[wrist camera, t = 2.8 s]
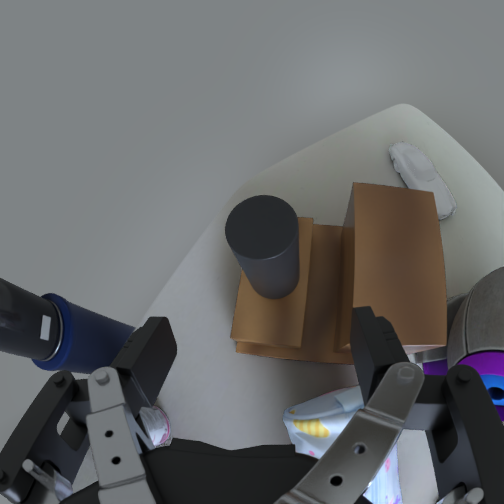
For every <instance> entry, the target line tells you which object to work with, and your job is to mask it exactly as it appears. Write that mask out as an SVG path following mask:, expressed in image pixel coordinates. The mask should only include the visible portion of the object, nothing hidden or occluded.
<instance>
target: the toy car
mask: <svg viewBox="0 0 504 504" xmlns="http://www.w3.org/2000/svg"><path fill="white" fill-rule="evenodd" d="M389 153H390V155H391V159H392V161H394V163H393V164H394V168H395V170H396V171H397V172H398V173H400V175H401V177H402V179H403V180H404V182H405V183H406V185H407V186H408V188H409V189H416V190H423V191H429V192H433V193H434V198H435V203H436V208H437V214H438V219H439V220H440V219H444V218H446V217H448V215H450V214H451V215H453V214H454V213H455V212H456V211H455V209H456V208H457V205H456V201H455V199H454V197H453V195H452V193H451V192H450V190H449V188H448V187H447V185H446V184H445V182H444V181H443V179H442V178H441V176H440V175H439V174H438V172H437V171H436V170H435V167H434V165H433V163H432V162H431V160H430V159H429V158H428V157H427V156H426V155H425V154H424V153H423V152H422V151H421V150H420V149H419V148H417V147H416V146H414V145H412V144H409V143H405V142H403V141H402V142H400V143H396V144H395V145H392V143H391V145H390V148H389ZM451 211H453V212H451Z"/></svg>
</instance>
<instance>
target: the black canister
mask: <svg viewBox="0 0 504 504" xmlns="http://www.w3.org/2000/svg"><path fill="white" fill-rule="evenodd" d="M225 235H226V239H227V242H228V244H229V246H230V247H231V249H232V251H233V253H234V255H235V257H236V258H237V260H238V262H239V264H240V266H241V267H242V269H243V271H244V273H245V275H246V276H247V278H248V280H249V282H250V284H251V285H252V287H253V289H254V290H255V291H256V292H257V293H258V294H259V295H261V296H262V297H265V298H268V299H280V298H283V297H285V296H287V295H289V294H290V293H291V292H293V290H294V289H295V288H296V286H297V284H298V282H299V278H300V259H299V224H298V218H297V215H296V213H295V211H294V210H293V208H292V207H291V206H290V205H289V204H288V203H287V202H285V201H284V200H282V199H280V198H277V197H274V196H268V195H260V196H254V197H251V198H248V199H246V200H244V201H242V202H241V203H239V204H238V205H237V206H236V207H235V208H234V209H233V210H232V211H231V213H230V215H229V216H228V219H227V222H226V226H225Z"/></svg>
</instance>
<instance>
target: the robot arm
mask: <svg viewBox="0 0 504 504" xmlns="http://www.w3.org/2000/svg"><path fill="white" fill-rule="evenodd" d="M64 331H65V326H64V318H63V314H62V312H61V310H60V308H59V306H58V305H57V304H56V303H54V302H52V301H50V300H47V299H44V298H42V297H39V296H37V295H35V294H33V293H30V292H28V291H26V290H24V289H22V288H20V287H18V286H16V285H14V284H12V283H10V282H8V281H6V280H4V279H1V278H0V351H2V352H6V353H10V354H14V355H18V356H23V357H27V358H32V359H37V360H39V361H43V362H48V361H51V360H52V359H54V358H55V357H56V356H57V354H58V353H59V351H60V349H61V346H62V343H63V339H64ZM350 348H351V353H352V357H353V361H354V365H355V369H356V373H357V377H358V381H359V385H360V389H361V394H362V398H363V402H364V408H363V409H361V408H360V409H358V410H357V412H356V413H355V414H354V416H353V417H352V418H351V420H350V421H349V422H348V424H347V425H346V427H345V428H344V429H343V431H342V432H341V433H340V434H339V436H338V437H337V438H336V440H335V441H334V442H333V443H332V445H331V446H330V447H329V448H328V450H327V451H326V452H325V453H324V454H323V456H322V457H321V458H320V459H317V458H315V457H313V456H310V455H307V454H303V453H298V452H296V448H295V444H291V445H261V446H255V447H250V448H244V449H238V450H226V449H222V448H219V447H216V446H213V445H210V444H207V443H204V442H201V441H193V440H185V439H178V438H173V439H172V442H171V444H170V446H163V447H158V448H155V446H154V444H153V442H152V439H151V437H150V434H149V432H148V429H147V427H146V424H145V422H144V419H143V416H142V414H141V412H140V410H141V408H142V407H146V408H152V407H153V405H154V403H155V401H156V399H157V396H158V394H159V392H160V390H161V388H162V385H163V383H164V381H165V379H166V377H167V375H168V372H169V370H170V368H171V366H172V364H173V362H174V360H175V357H176V355H177V344H176V341H175V338H174V335H173V332H172V329H171V326H170V323H169V320H168V318H167V317H149V318H148V320H147V321H146V323H145V324H144V326H143V327H140V328H139V329H137V330H136V331H135V332H133V333H132V335H131V336H130V337H129V339H128V340H127V342H126V343H125V345H124V346H123V348H122V349H121V350H120V352H119V353H118V355H117V356H116V358H115V359H114V360H113V362H112V363H111V365H110V366H109V367H102V368H99V369H97V370H95V371H94V372H92V373H91V374H90V376H89V378H88V379H81V380H75V378H74V376H73V375H72V374H71V372H69V371H65V370H64V371H59V372H57V373H55V374H54V375H52V376H51V377H50V378H49V380H48V381H47V383H46V384H45V385H44V387H43V388H42V390H41V391H40V392H39V394H38V395H37V397H36V398H35V400H34V401H33V403H32V404H31V405H30V407H29V408H28V410H27V411H26V413H25V414H24V416H23V417H22V419H21V420H20V422H19V424H18V425H17V427H16V428H15V430H14V431H13V433H12V435H11V436H10V438H9V439H8V441H7V443H6V444H5V446H4V448H3V449H2V451H1V453H0V494H1V495H3V496H4V497H6V498H7V499H8V500H9V501H10V502H11V503H13V504H373V503H372V502H370V501H369V500H368V499H367V498H366V497H364V496H363V495H364V493H365V492H366V491H367V489H368V488H369V486H370V485H371V483H372V482H373V480H374V479H375V477H376V476H377V474H378V472H379V471H380V469H381V468H382V466H383V464H384V463H385V461H386V459H387V458H388V456H389V454H390V452H391V451H392V449H393V447H394V445H395V444H396V442H397V440H398V438H399V436H400V434H401V433H402V431H403V429H410V430H425V432H426V436H427V440H428V444H429V448H430V453H431V457H432V462H433V466H434V471H435V476H436V482H437V487H438V493H439V500H440V501H439V502H437V503H436V504H504V426H503V423H502V421H501V419H500V416H499V414H498V412H497V410H496V407H495V405H494V403H493V401H492V399H491V397H490V395H489V393H488V391H487V389H486V387H485V385H484V383H483V381H482V379H481V377H480V375H479V373H478V372H477V371H476V369H474V368H473V367H471V366H469V365H465V364H458V365H454V366H452V367H451V368H450V369H449V370H448V372H447V374H446V375H428V374H424V372H423V371H422V369H421V368H420V367H419V366H417V365H416V364H413V363H410V361H409V359H408V357H407V355H406V352H405V350H404V348H403V346H402V344H401V342H400V340H399V339H398V336H397V334H396V332H395V330H394V328H393V326H392V324H391V322H390V321H388V320H387V319H386V318H385V317H383V316H379V317H375V315H374V312H373V310H372V308H371V306H363V307H354V308H353V309H352V317H351V331H350ZM64 412H66V413H67V414H68V416H69V417H70V419H69V421H68V422H67V424H66V426H65V428H64V430H63V431H62V433H61V435H59V434H58V432H57V424H58V422H59V420H60V418H61V417H62V415H63V413H64ZM90 445H91V450H92V455H93V460H94V464H95V469H96V473H97V477H98V481H97V482H95V483H93V484H91V485H89V486H87V487H86V488H84V489H82V490H80V491H78V492H76V493H74V494H73V488H72V484H73V482H74V480H75V477H76V475H77V473H78V470H79V468H80V466H81V464H82V461H83V459H84V457H85V455H86V453H87V450H88V448H89V446H90Z"/></svg>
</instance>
